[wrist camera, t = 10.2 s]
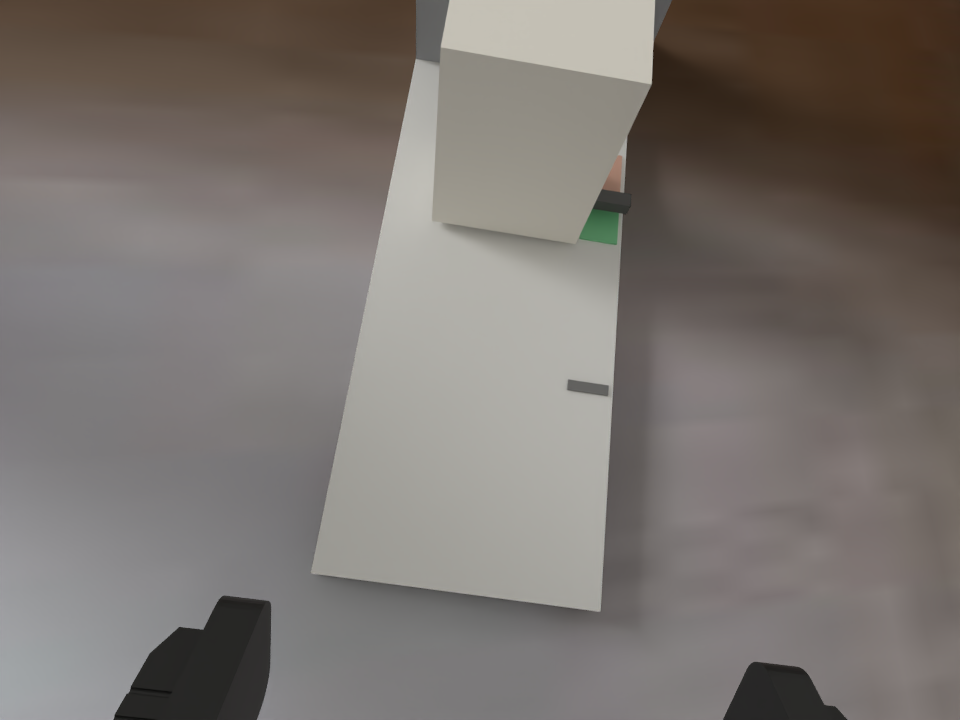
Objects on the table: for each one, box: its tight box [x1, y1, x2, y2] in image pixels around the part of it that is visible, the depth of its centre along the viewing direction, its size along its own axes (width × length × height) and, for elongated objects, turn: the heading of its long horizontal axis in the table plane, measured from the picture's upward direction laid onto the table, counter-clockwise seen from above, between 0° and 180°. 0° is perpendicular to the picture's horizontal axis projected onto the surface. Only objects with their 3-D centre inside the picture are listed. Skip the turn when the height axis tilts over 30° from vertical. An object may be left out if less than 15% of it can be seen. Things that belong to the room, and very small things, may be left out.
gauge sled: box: [432, 0, 655, 244], centre depth 23 cm, size 8×5×9 cm, turn 83°
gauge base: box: [311, 0, 672, 612], centre depth 23 cm, size 10×28×12 cm, turn 173°
